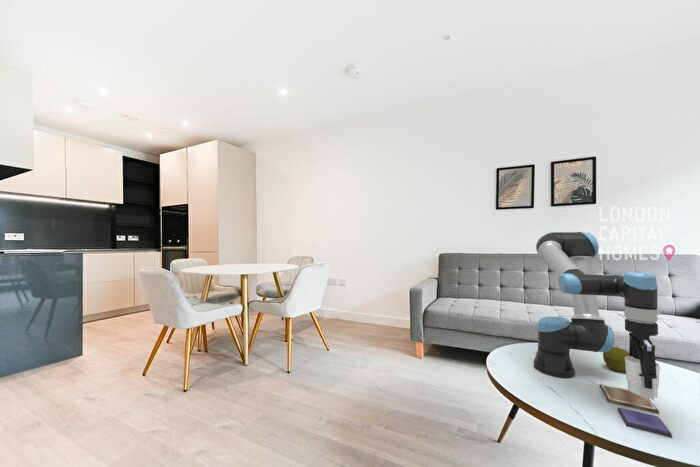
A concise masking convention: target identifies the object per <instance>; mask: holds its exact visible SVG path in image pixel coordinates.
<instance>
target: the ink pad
mask: <svg viewBox="0 0 700 467" xmlns="http://www.w3.org/2000/svg"><path fill="white" fill-rule="evenodd" d="M616 410H617V412H618V414H619V415H620V417H621V419H622V421H623V423H624V424H625V426H626V427H629V428H633V429H635V430H640V431H644V432H647V433H652V434H655V435H660V436H664V437H667V438H673V434H672V432H671V431H670V430H669V429H668V427H667V426H666V425H665V423H664V422H663V421H662V419H661V418H660V417H659V416H657V415H656V414H655V415H654V414H649V413H647V412H646V413H645V412H641V411H638V410H637V411H636V410H633V409H628V408H626V407H625V408H624V407H618V406H617V407H616Z"/></svg>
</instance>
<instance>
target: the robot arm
mask: <svg viewBox="0 0 700 467" xmlns="http://www.w3.org/2000/svg"><path fill="white" fill-rule="evenodd" d="M535 246H536V247H535V248H536V249H535V250H536V252H537V254H538V256H540V257H541V258H543V259H545V260H546V261H547V263H548V264H549V266H551V268H552V270H554V272H555V273H556V275H558V281H557V282H558V283H557V284H558V287H559V290H560V292H562V293H563V294H567V295H570V294H571V299H572V304H573V305H572V306H573V312H574V314H573V315H572V317H571V318H570V320H569V319H568V318H566V317H562V316H560V317H559V316H545V317H541V318H539V319H538V321H537V328H536V330H537V351H536V354H535V357H534V358H533V368H534V369H535V370H537V371H538V372H540V373H542V374H545V375H547V376H550V377H555V378H560V379H571V378H574V377H575V376H576V370H575V369H576V368H575V367H574V365H573V362H572V359H571V356H570V350H575V351H583V352H584V351H585V352H593V353H603V352H608V351H610V350H611V349H612V347H614V344H615V334H614V330H613V328H612V326H610V325H608V324H606V322H605V319H604V318H603V317H602V316H600V313H599V306H598V300H597V299H598V298H597V296H600V297H601V296H604V297H605V296H606V297H619V298H623V300H624V301H623V302H624V305H623V308H624V310H623V311H624V314H623V315H624V317H625V319H624V329H625V331H626V332H629V334H628V337H629V345H628V346H629V350H628V351H629V352H628V353H629V356H632V357H633V358H635V359H640V365H641V372H642V374H639V376H640V383H641V397H644V398H649V399H650V400H655V398H654V382H653V379H657V376H656V363H657V362H656V355H655V352H656V346H655V344H653V342H652V340H651V338H650V337H656V336H658V335H659V325H658V324H657V322H658V320H659V318H658V316H660V314H661V312H660V311H658V283H657V282H658V281H657V276H656V275H655V274H653V273H649V272H637V271H635V272H634V271H632V272H631V271H629V272H625V273H624V274H623V275H622V274H615V273H614V274H613V273H612V274H593V269H592V264H591V263H592V262H593V261H594V260H595V257H596V256H598V254H599V243H598V240H597V238H596V237H595V235H593V234H592V233H590V232H585V231H584V232H583V231H573V232H572V231H571V232H569V231H568V232H567V231H563V232H562V231H559V232H558V231H555V232H554V231H553V232H549V233H546V234H544V235H542V236H541V237H540V238H539V239H538V240H537V243H536V245H535ZM655 362H656V363H655ZM649 373H650V374H649Z"/></svg>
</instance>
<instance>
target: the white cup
mask: <svg viewBox="0 0 700 467" xmlns="http://www.w3.org/2000/svg"><path fill="white" fill-rule="evenodd" d="M655 363H656V376H657V379H653V382H654V399H656V398H658V397H659V396H658V394H659V386H660V371H661V370H660V369H661V368H660V367H661V366H660V364H659V363H658V362H656V361H655ZM625 368H626V371H625V378H626V384H627V390H630V391H631V392H633V393H635V394H637V395H640V396H641V383H640V376H639V374H642V372H641V365H640V359H635V358H633V357H632V356H628V357H625ZM649 374H650V373H649Z"/></svg>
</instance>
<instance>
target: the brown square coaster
mask: <svg viewBox="0 0 700 467" xmlns="http://www.w3.org/2000/svg"><path fill="white" fill-rule="evenodd" d="M599 388H600V390H601V392H602V393H603V395H604V397H605V399H606V402H608V403H609V404H614V405H619V406H622V407H627V408H632V409H635V410H640V411H644V412H650V413H652V414H657V415H659V414H660V411H659V409H658V408H657V406H655V404H654V403H653V402H652V401H651V399H649V398H644V397H641V396H640V395H637V394H635V393H633V392H631V391H630V390H628V388H627V389H626V388H623V387H622V388H621V387H617V386H612V385H607V384H601V383H599Z"/></svg>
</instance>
